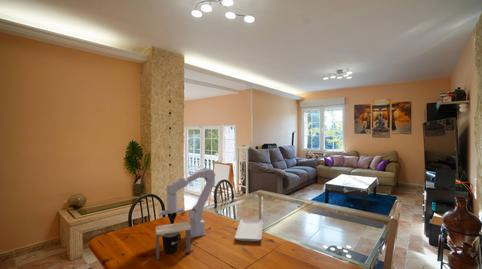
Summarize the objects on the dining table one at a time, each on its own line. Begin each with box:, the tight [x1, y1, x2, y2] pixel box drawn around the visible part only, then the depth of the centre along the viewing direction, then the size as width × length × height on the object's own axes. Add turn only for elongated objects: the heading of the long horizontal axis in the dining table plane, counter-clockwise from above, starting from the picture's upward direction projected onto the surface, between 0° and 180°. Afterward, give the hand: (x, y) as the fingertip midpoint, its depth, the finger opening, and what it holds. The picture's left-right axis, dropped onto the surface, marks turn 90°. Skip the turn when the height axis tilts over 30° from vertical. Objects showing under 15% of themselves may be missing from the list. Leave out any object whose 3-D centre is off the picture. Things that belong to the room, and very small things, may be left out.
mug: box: [161, 231, 182, 255], centre depth 130 cm, size 12×9×10 cm
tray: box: [234, 218, 264, 242], centre depth 153 cm, size 17×31×4 cm, turn 173°
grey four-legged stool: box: [155, 221, 192, 260], centre depth 127 cm, size 18×8×14 cm, turn 113°
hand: (171, 225), depth 142 cm, fingers closed
